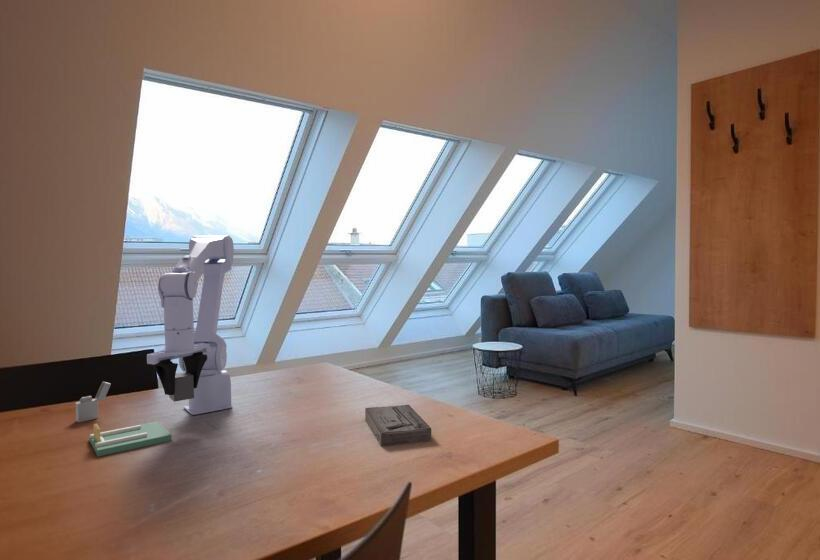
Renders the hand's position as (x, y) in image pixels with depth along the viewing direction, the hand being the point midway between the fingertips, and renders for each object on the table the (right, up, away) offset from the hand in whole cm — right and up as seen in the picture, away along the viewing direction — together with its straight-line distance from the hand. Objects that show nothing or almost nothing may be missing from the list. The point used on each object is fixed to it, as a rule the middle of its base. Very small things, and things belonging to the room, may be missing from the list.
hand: (181, 391), depth 111 cm
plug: (0, -2, 0) cm, 2 cm away
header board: (-8, -9, -6) cm, 13 cm away
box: (+46, -9, -1) cm, 47 cm away
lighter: (-24, -8, +9) cm, 27 cm away
